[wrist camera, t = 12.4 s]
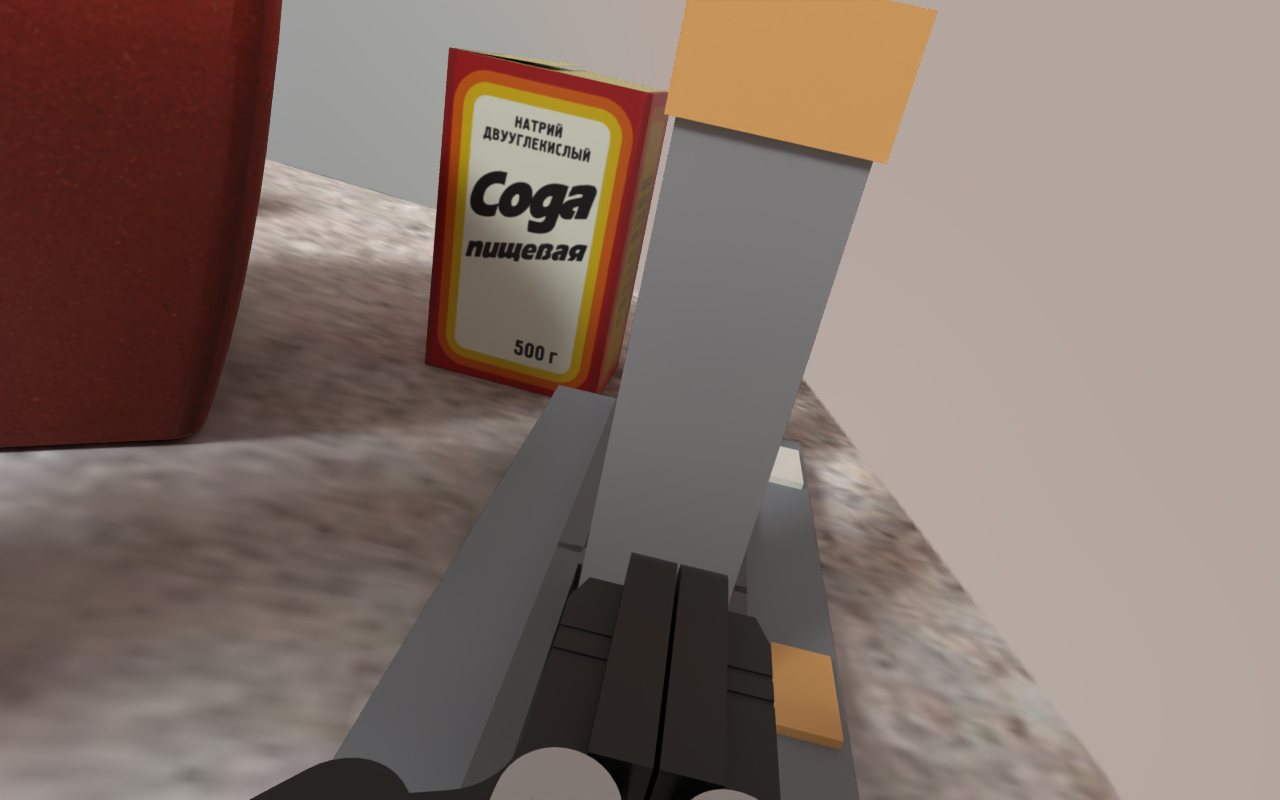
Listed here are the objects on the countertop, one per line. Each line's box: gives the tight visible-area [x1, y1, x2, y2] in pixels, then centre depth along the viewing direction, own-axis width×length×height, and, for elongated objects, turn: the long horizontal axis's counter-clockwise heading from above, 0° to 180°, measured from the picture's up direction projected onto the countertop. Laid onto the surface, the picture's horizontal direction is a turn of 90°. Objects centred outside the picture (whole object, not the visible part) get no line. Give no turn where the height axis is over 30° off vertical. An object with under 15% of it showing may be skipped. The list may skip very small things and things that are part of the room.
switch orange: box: [578, 0, 937, 604], centre depth 17 cm, size 4×3×16 cm
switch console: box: [333, 385, 859, 800], centre depth 20 cm, size 12×32×3 cm, turn 172°
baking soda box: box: [425, 48, 669, 397], centre depth 38 cm, size 10×6×16 cm
